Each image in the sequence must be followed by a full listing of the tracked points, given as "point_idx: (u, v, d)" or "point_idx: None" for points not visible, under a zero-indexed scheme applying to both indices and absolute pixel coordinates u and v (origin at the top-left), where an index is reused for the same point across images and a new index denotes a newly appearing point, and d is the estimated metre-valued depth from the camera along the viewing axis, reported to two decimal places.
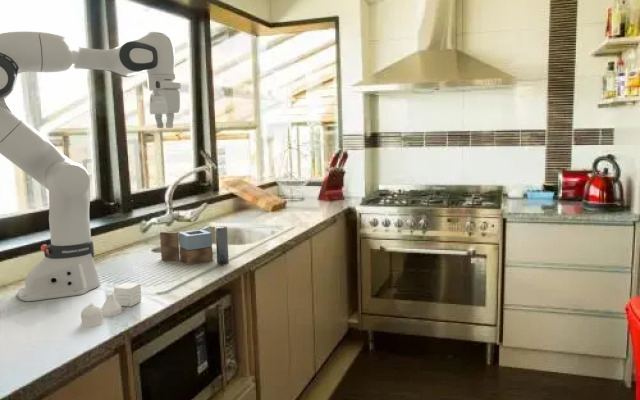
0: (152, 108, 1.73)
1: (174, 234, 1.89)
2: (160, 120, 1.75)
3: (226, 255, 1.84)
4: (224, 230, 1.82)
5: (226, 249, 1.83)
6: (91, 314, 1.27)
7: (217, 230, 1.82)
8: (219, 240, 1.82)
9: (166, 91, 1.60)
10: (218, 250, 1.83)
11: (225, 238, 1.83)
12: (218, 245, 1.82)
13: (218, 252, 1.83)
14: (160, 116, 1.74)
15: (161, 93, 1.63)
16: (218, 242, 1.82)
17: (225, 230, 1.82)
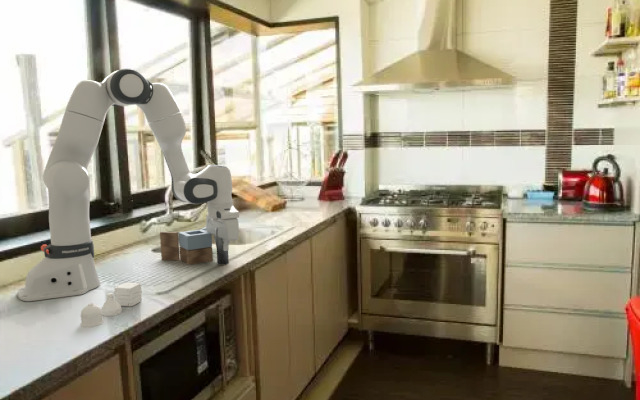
0: (210, 229, 1.87)
1: (174, 234, 1.89)
2: None
3: (226, 255, 1.84)
4: None
5: None
6: (91, 314, 1.27)
7: (217, 230, 1.82)
8: (219, 240, 1.82)
9: (227, 222, 1.74)
10: (218, 250, 1.83)
11: None
12: (218, 245, 1.82)
13: (218, 251, 1.83)
14: None
15: (221, 222, 1.77)
16: (218, 242, 1.82)
17: None
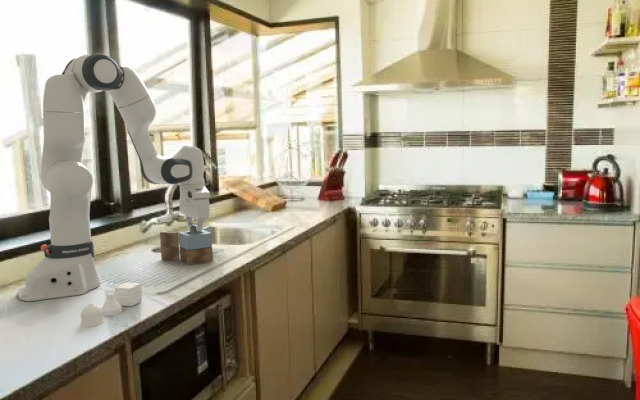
0: (183, 210, 1.91)
1: (174, 234, 1.89)
2: (190, 220, 1.92)
3: None
4: None
5: None
6: (91, 314, 1.27)
7: (191, 228, 1.86)
8: None
9: (197, 201, 1.78)
10: None
11: None
12: None
13: None
14: (190, 216, 1.92)
15: (192, 202, 1.81)
16: None
17: None
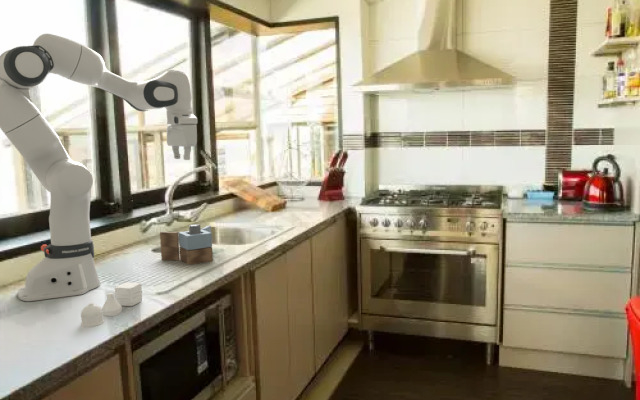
0: (170, 140, 1.84)
1: (174, 234, 1.89)
2: (177, 151, 1.85)
3: None
4: (197, 228, 1.87)
5: None
6: (91, 313, 1.27)
7: (190, 228, 1.87)
8: None
9: (184, 126, 1.71)
10: None
11: None
12: None
13: None
14: (177, 147, 1.85)
15: (179, 128, 1.74)
16: None
17: (198, 228, 1.87)
